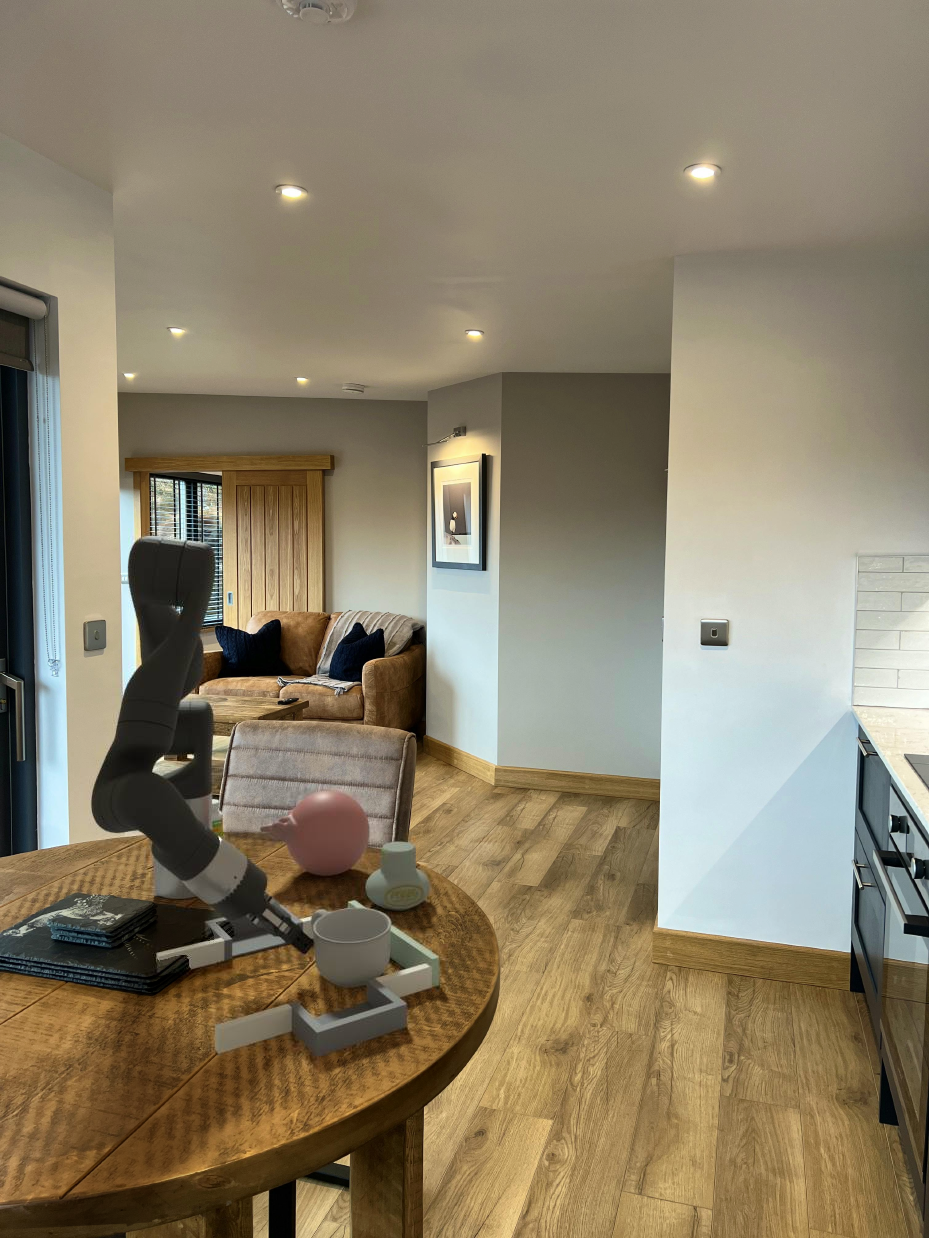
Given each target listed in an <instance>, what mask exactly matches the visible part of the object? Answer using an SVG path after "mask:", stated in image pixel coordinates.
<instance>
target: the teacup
mask: <svg viewBox="0 0 929 1238" xmlns="http://www.w3.org/2000/svg"><path fill="white" fill-rule="evenodd" d="M328 912H330V913H328ZM311 917H312V918H311V927H312V930H313V933H314V938H313V941H314V945H313V948H314V961H315V964H316V968H317V970H318V972H319V974H320V975H321V976H322V977H323V978H325V979H326V980H327V981H329V982H331V984H334V985H335V986H338V987H341V988H358V987H363V986H367V980H371V979H374V978H377V977H381V975H382V974H383V973H384V972H385V971H386V969H387V967H388V965H389V962H390V958H391V957H390V944H391V930H390V929H391V925H392V920H391V918H390V917H389V916H388V915H387V914H386V913H384V912H382V911H380V910H377V909H374V908H368V907H365V908H348V907H347V908H346V909H345V908H342V909H337V910H333V911H327V910H326V909H324V908H323V909H318V910H316V911H314V912H313V914H312V915H311Z"/></svg>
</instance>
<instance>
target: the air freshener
mask: <svg viewBox="0 0 929 1238" xmlns="http://www.w3.org/2000/svg"><path fill="white" fill-rule="evenodd" d="M416 849H417V848H416V846H415V845H414V844H413V843H411V842H408V841H407V842H406V841H391V842H386V843H384V844H383V845H382V846H381V847H380V868H378V869H377V870H375V871H374V872H373V873H372V874H371V875H369V876H368V879H367V880H366V882H365V893H366V896H367V897H368V899H369V900H370V901H371V902H372V903H373V904H375V905H377V906H378V907H380V908H383V909H387V910H390V911H394V912H396V911H397V912H403V911H407V910H411V909H412V908H414V907H417V906H418V905H420V904H422V903H423V901H425V900H426V899H427V898H428V896H429V894H430V891H431V882H430V881H429V878H428V877H427V875H426V874H425V873H424V872H423V871H422V870H420V869H418V868H417V867H416V866H417V865H416V858H417V856H416V852H417V850H416Z"/></svg>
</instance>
